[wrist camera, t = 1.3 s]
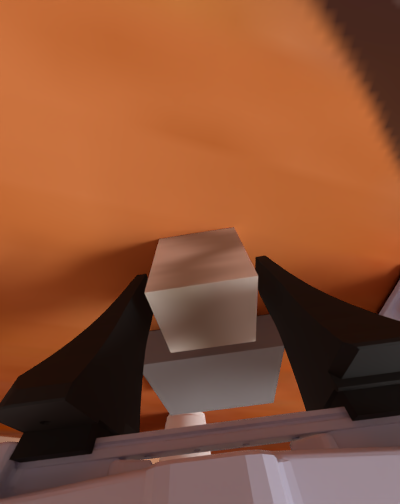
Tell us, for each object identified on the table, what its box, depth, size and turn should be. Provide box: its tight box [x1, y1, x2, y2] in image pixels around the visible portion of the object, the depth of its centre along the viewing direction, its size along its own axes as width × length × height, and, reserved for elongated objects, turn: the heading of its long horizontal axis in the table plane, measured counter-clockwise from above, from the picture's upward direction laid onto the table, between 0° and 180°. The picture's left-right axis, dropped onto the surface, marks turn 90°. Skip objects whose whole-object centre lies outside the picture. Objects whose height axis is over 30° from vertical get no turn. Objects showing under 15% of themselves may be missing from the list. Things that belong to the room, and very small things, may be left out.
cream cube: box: [144, 227, 258, 353], centre depth 11 cm, size 5×5×5 cm
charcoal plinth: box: [143, 314, 284, 416], centre depth 19 cm, size 12×12×3 cm
